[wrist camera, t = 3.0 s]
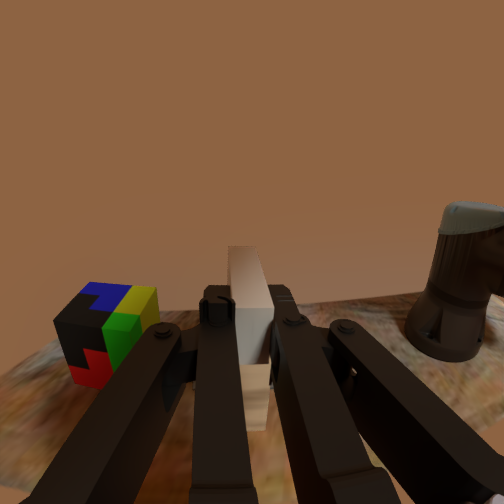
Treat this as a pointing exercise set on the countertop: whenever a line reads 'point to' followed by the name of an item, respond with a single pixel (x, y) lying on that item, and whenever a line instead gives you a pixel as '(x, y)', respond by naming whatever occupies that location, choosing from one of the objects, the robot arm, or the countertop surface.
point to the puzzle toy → (104, 328)
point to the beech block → (255, 394)
